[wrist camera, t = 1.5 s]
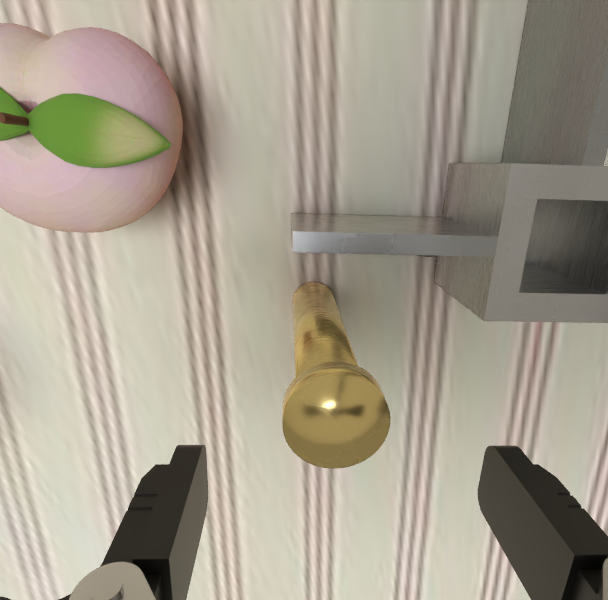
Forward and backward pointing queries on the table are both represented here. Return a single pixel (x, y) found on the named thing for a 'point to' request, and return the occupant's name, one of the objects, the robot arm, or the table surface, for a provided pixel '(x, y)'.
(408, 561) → the table surface
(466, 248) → the grey corner bracket
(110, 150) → the decorative fruit
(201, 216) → the table surface
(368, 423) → the hinge pin
